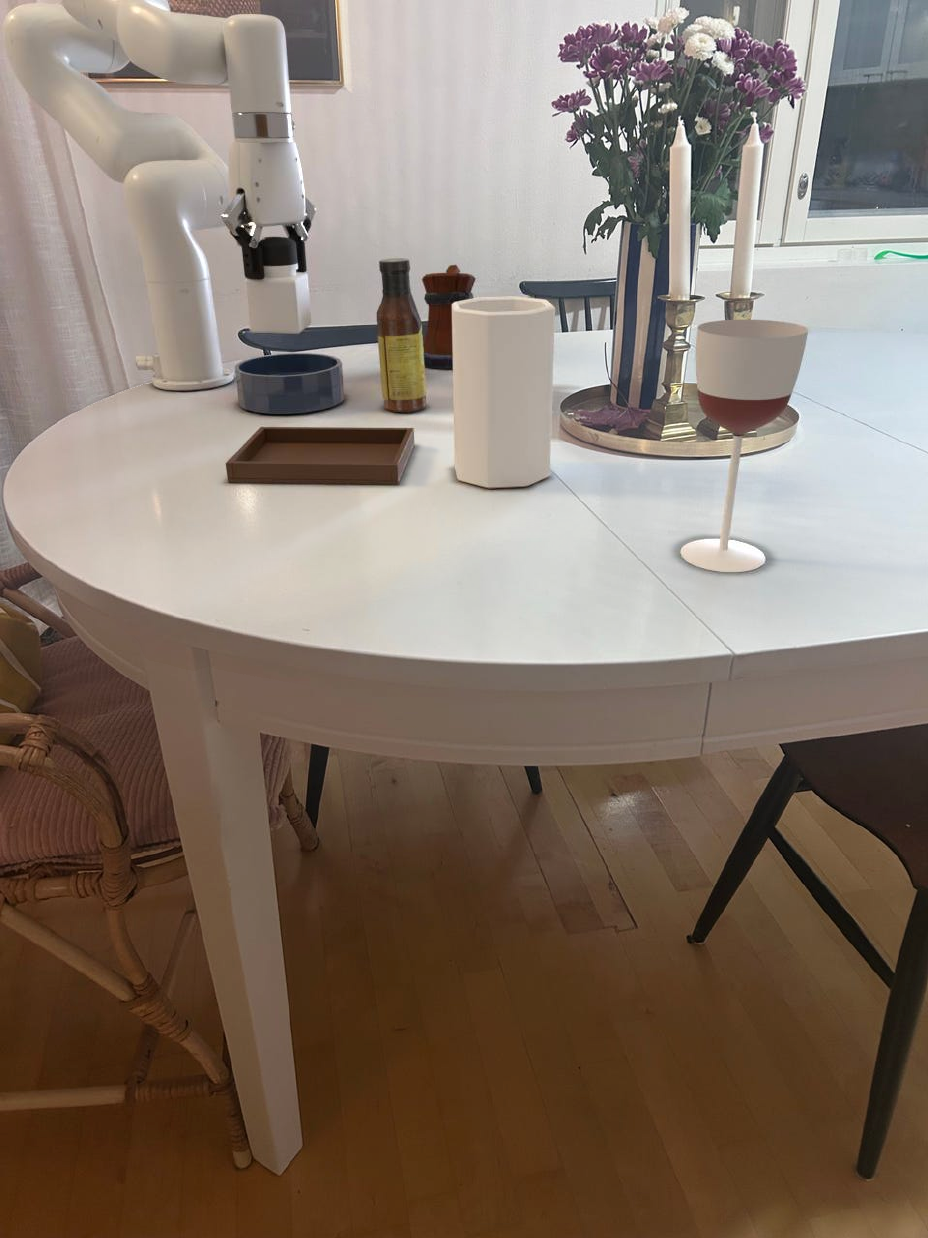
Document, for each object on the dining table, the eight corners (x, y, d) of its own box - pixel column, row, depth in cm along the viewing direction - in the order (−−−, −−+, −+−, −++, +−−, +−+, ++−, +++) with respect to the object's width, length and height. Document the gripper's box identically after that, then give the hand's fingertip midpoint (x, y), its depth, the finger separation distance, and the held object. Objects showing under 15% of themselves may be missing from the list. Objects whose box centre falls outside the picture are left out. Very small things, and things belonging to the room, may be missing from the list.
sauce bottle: (435, 407, 129) (431, 258, 120) (404, 416, 125) (396, 263, 116) (404, 400, 133) (397, 255, 124) (372, 408, 129) (363, 259, 120)
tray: (228, 482, 102) (225, 463, 101) (262, 444, 114) (260, 426, 113) (398, 484, 100) (397, 464, 99) (414, 445, 113) (413, 427, 112)
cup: (482, 496, 97) (481, 316, 88) (436, 467, 105) (431, 301, 97) (569, 479, 101) (576, 306, 92) (518, 452, 110) (521, 292, 101)
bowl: (226, 415, 127) (220, 376, 124) (256, 389, 140) (251, 352, 138) (332, 416, 126) (329, 376, 123) (352, 389, 139) (350, 353, 136)
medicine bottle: (312, 324, 131) (305, 235, 125) (299, 334, 125) (291, 240, 119) (264, 323, 132) (255, 234, 126) (249, 333, 126) (239, 240, 120)
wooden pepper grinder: (424, 347, 166) (421, 260, 159) (486, 347, 165) (486, 260, 158) (413, 370, 150) (409, 274, 143) (482, 369, 149) (482, 273, 142)
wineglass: (663, 539, 86) (684, 321, 76) (753, 535, 86) (785, 318, 77) (689, 575, 79) (715, 339, 69) (786, 570, 79) (825, 335, 70)
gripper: (289, 129, 125) (300, 265, 133) (190, 129, 112) (209, 280, 120) (330, 129, 121) (338, 269, 129) (233, 130, 108) (249, 285, 117)
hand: (276, 273), depth 125 cm, fingers closed on medicine bottle, 7 cm apart
